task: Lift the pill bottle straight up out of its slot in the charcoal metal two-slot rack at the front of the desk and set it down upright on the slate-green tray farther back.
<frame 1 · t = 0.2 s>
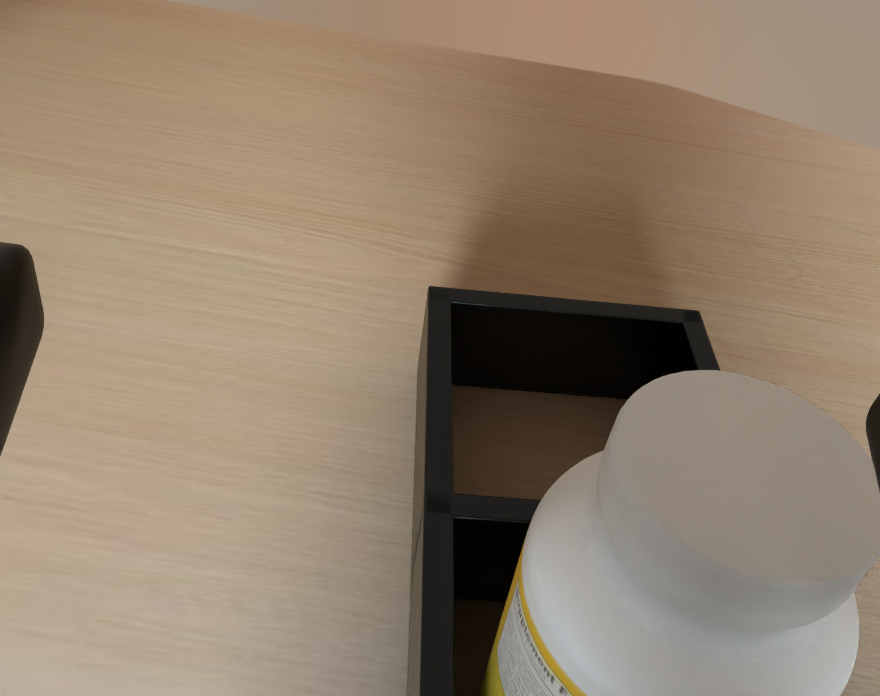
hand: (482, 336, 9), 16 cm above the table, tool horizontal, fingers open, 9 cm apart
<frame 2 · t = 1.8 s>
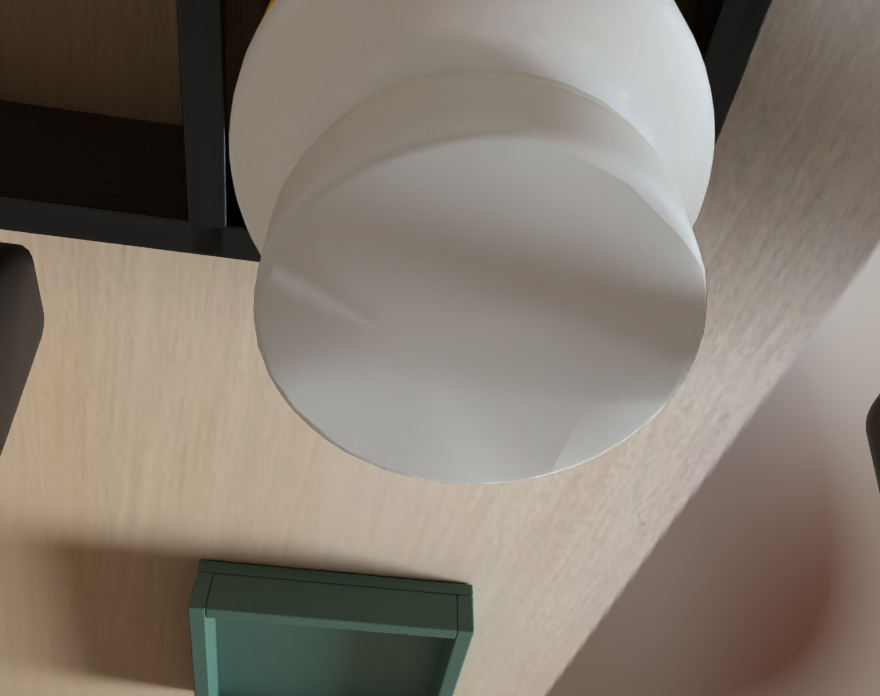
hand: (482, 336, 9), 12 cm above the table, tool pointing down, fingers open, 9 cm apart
tray: (329, 643, 34), on the table
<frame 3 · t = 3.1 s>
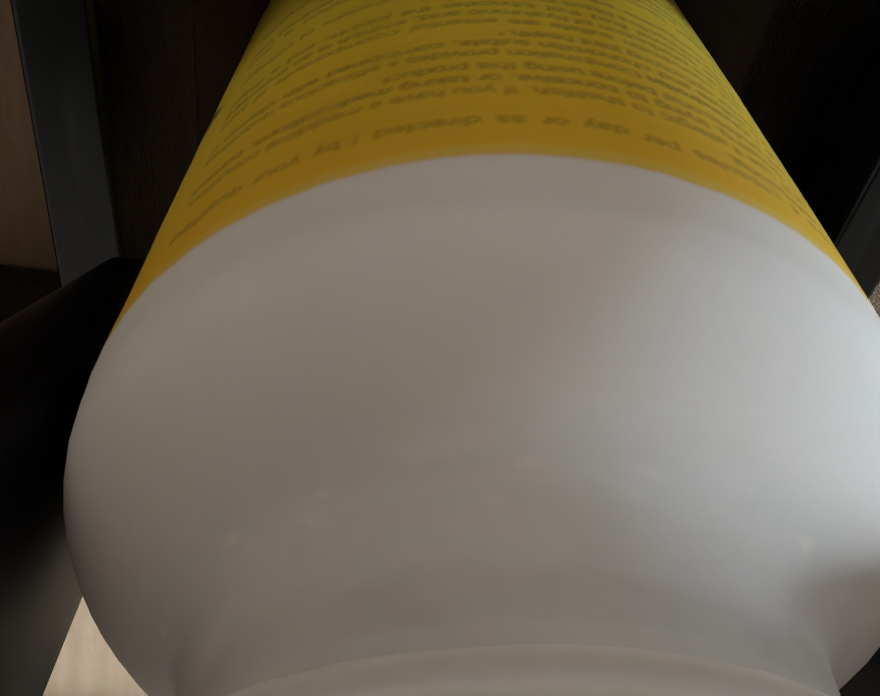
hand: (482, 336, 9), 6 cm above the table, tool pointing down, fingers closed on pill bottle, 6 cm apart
pill bottle: (466, 101, 13), resting in rack, touching gripper
rack: (467, 107, 13), on the table
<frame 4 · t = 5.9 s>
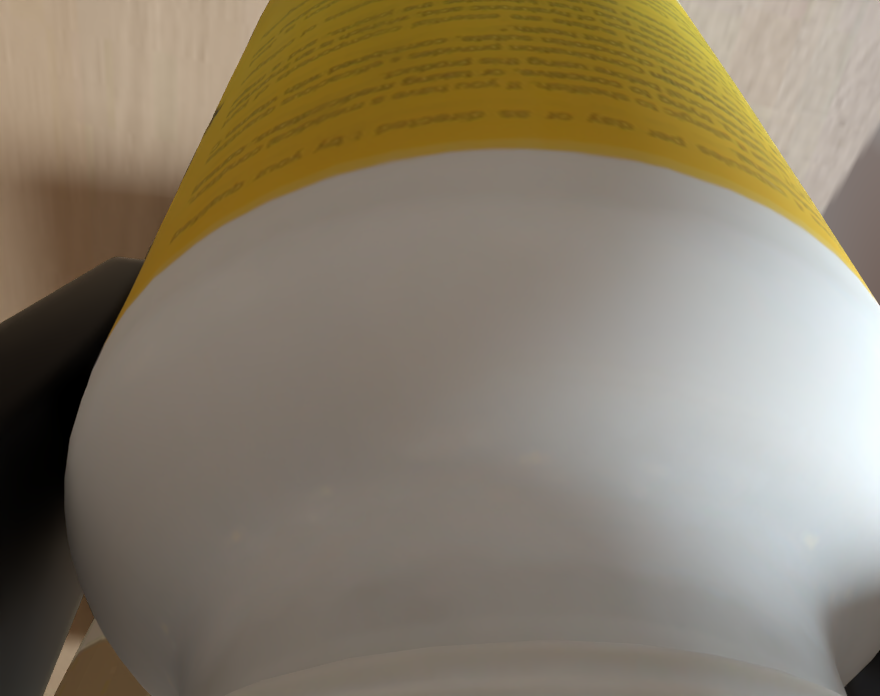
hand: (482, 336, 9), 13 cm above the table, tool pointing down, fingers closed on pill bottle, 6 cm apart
pill bottle: (467, 99, 13), point 7 cm above the table, touching gripper
coffee cup: (198, 603, 35), on the table
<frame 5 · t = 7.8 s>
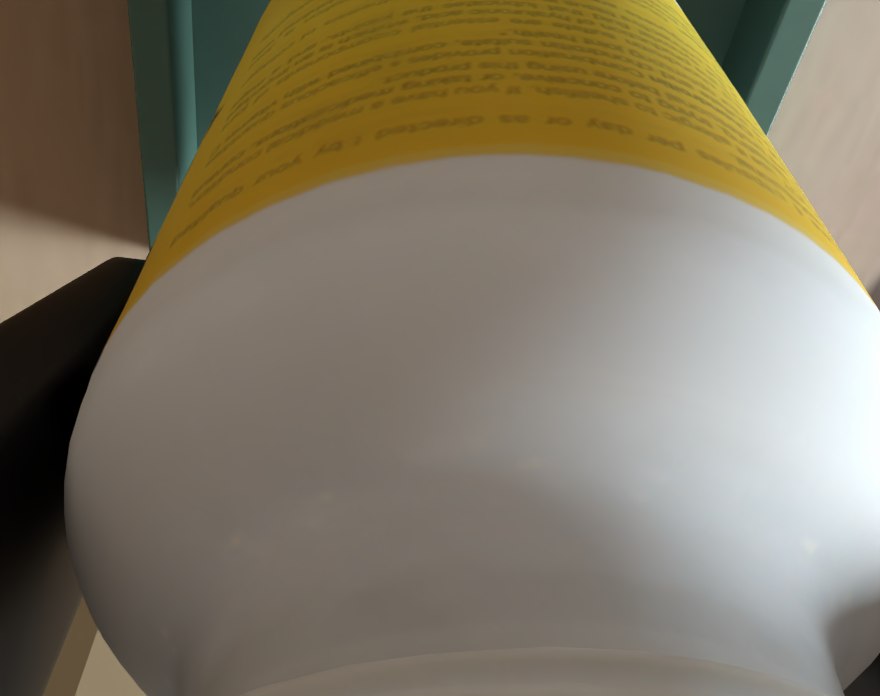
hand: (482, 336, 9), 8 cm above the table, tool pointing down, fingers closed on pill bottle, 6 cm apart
pill bottle: (467, 101, 13), point 2 cm above the table, touching gripper
coffee cup: (130, 530, 24), on the table
tray: (457, 54, 15), on the table
when the fingers open (6 cm above the table, at t = 9.0 s): pill bottle stays where it is, resting on tray.
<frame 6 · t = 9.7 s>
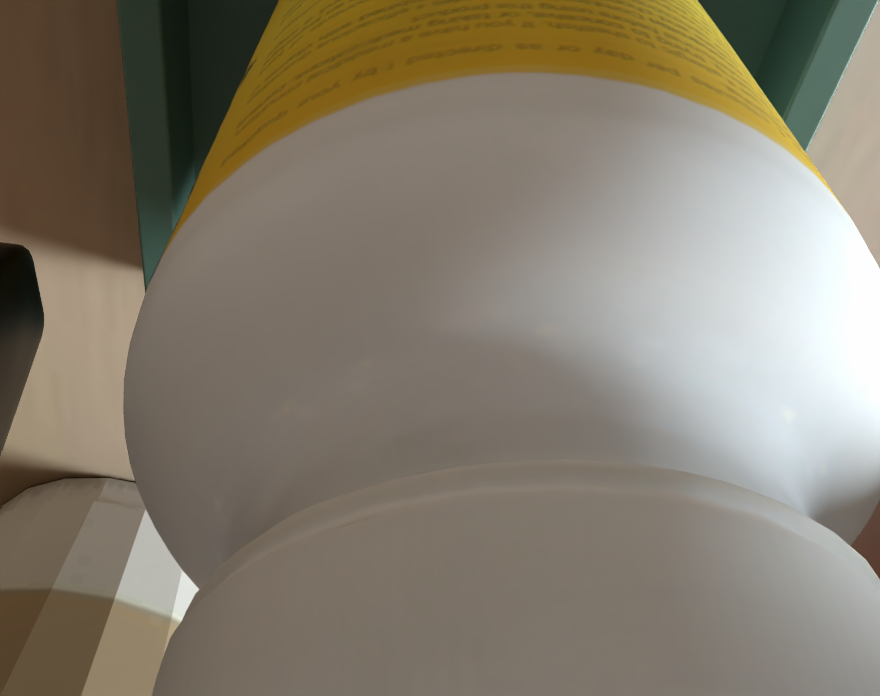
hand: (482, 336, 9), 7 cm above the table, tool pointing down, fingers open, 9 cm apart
pill bottle: (477, 72, 13), resting on tray
coffee cup: (127, 555, 23), on the table
tray: (470, 71, 14), on the table
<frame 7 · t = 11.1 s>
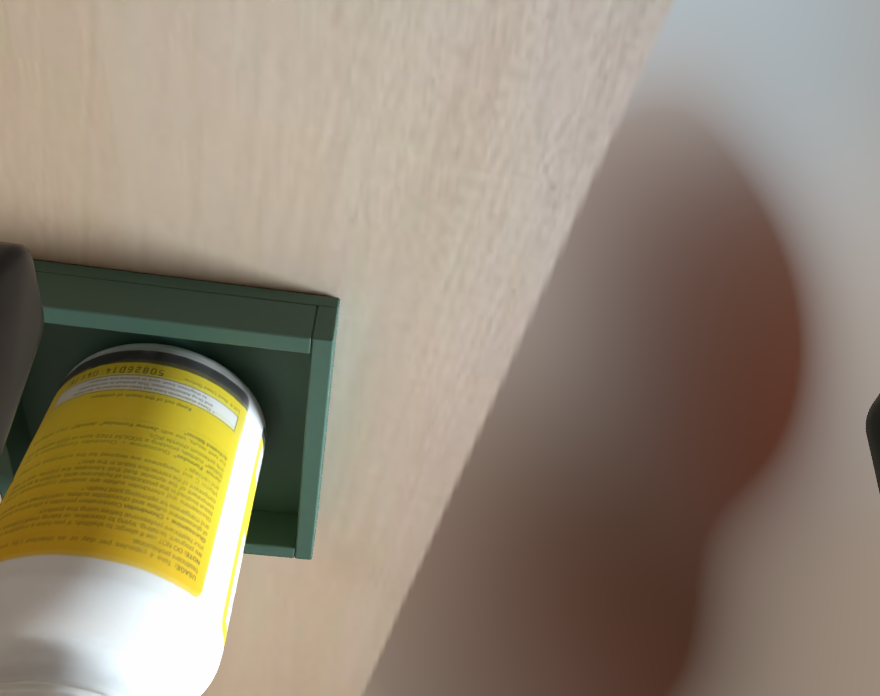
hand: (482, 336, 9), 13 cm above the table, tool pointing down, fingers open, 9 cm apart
pill bottle: (170, 406, 27), resting on tray
tray: (170, 402, 27), on the table
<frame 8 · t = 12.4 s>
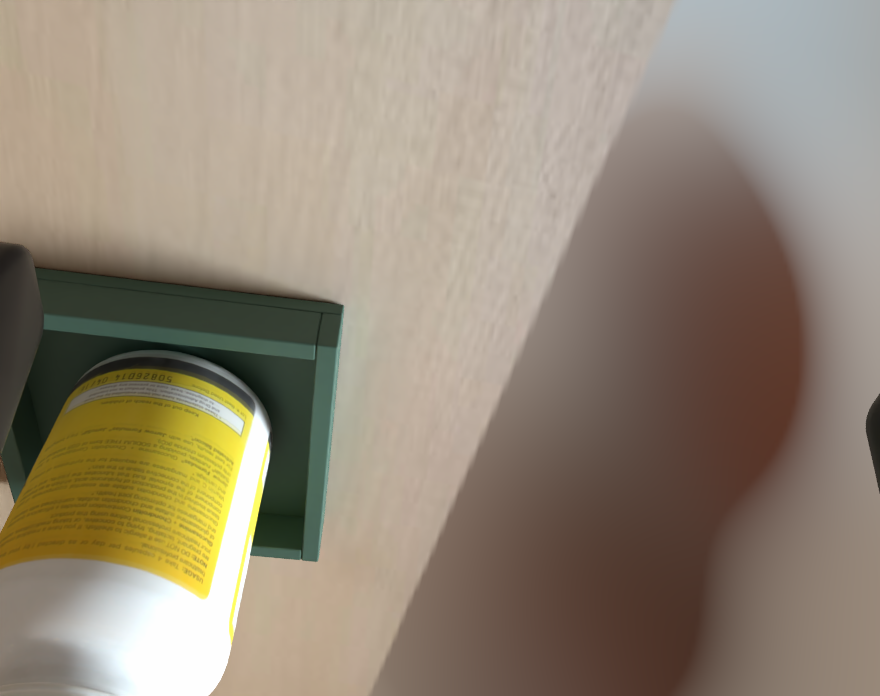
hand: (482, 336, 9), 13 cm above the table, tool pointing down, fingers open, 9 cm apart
pill bottle: (179, 411, 27), resting on tray
tray: (179, 406, 27), on the table
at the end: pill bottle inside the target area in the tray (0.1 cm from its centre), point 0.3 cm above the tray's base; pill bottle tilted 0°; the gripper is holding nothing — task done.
